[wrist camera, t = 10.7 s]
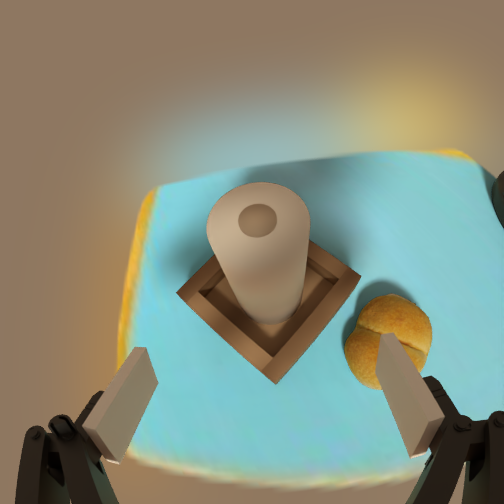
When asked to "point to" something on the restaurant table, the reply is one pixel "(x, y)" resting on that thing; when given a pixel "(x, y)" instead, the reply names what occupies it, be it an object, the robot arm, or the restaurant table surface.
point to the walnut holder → (278, 335)
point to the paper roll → (262, 248)
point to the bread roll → (382, 322)
